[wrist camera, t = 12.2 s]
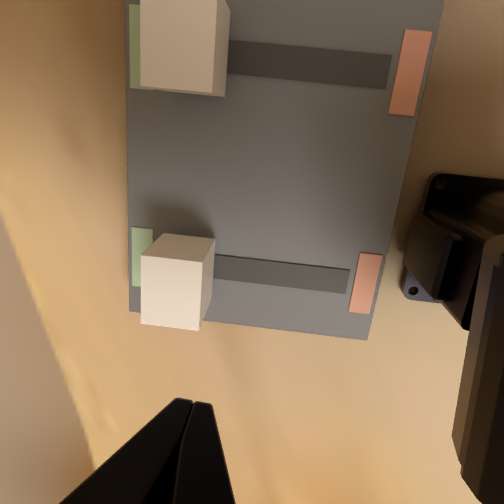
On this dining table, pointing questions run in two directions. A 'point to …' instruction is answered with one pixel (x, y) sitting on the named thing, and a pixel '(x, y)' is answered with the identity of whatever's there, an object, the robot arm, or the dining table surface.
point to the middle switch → (184, 45)
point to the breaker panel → (285, 158)
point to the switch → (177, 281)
